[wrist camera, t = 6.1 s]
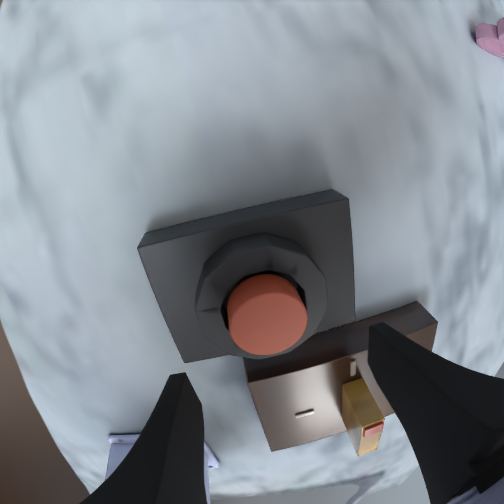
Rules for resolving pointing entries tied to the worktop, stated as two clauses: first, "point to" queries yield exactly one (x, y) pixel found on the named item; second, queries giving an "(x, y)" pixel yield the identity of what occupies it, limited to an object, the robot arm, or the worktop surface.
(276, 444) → the plate
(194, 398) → the robot arm
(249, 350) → the bell button
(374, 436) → the lock knob
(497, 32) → the decorative key
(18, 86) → the worktop surface
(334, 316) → the doorbell
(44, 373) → the worktop surface
